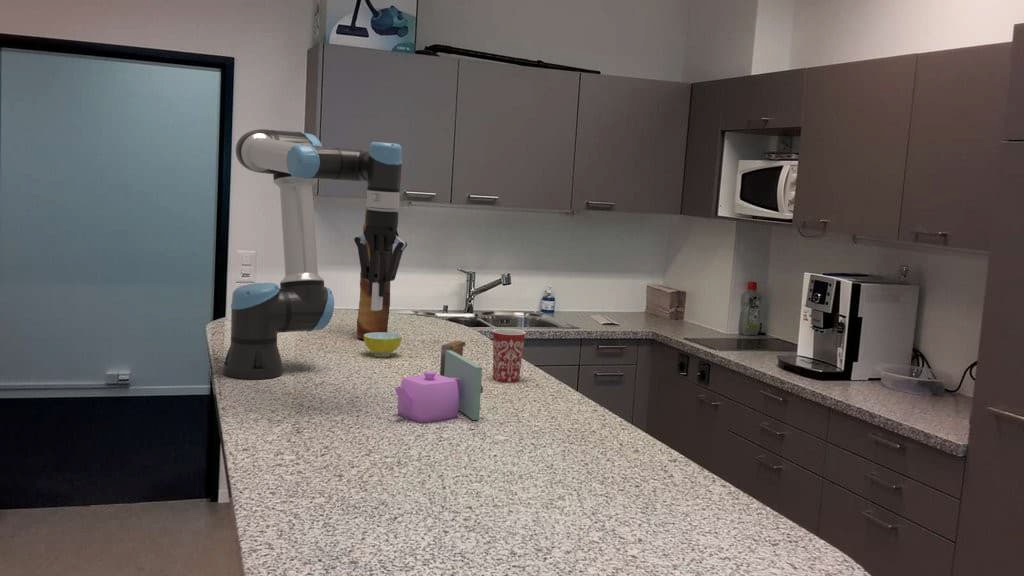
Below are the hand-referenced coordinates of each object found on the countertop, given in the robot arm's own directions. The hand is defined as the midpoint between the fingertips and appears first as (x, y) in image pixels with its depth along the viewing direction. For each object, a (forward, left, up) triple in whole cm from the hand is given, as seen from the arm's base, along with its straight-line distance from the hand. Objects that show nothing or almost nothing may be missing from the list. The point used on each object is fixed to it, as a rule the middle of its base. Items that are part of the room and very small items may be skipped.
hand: (376, 309), depth 218 cm
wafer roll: (-39, +75, -22) cm, 87 cm away
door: (+22, +5, -22) cm, 31 cm away
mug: (+18, +44, -22) cm, 52 cm away
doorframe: (+13, +16, -22) cm, 30 cm away
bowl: (-24, +52, -22) cm, 61 cm away
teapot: (+16, -5, -22) cm, 28 cm away
